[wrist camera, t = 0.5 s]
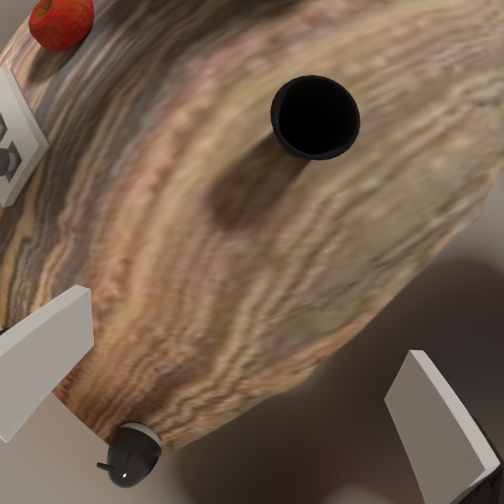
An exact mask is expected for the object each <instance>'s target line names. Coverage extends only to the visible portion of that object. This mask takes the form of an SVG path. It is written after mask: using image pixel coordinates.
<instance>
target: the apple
mask: <svg viewBox="0 0 504 504" xmlns="http://www.w3.org/2000/svg"><path fill="white" fill-rule="evenodd" d="M93 20H94V7H93V1H92V0H41V1H40V2H39V3H38V4H37V5H36V6H35V8H34V9H33V11H32V13H31V16H30V19H29V23H28V24H29V29H30V32H31V34H32V36H33V37H34V38H35V39H36V40H37V41H38V42H39V44H40V45H41V46H42V47H44V48H46V49H48V50H54V51H60V50H65V49H67V48H70V47H72V46H74V45H76V44H78V43H79V42H80V41H81V40H82V39H83V38H84V37H85V36H86V34H87V33H88V31H89V30H90V28H91V27H92V24H93Z"/></svg>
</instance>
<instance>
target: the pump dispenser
mask: <svg viewBox="0 0 504 504" xmlns="http://www.w3.org/2000/svg"><path fill="white" fill-rule="evenodd" d="M161 453H162V450H161V443H160V440H159V437H158V436H157V434H156V433H155V432H154V431H153V430H152V429H150V428H149V427H147V426H145V425H143V424H140V423H127V424H124V425H123V426H121V427H120V428H118V429H116V430H115V432H114V434H113V436H112V439H111V442H110V445H109V449H108V456H107V464H103V463H99V462H98V463H97V467H98V468H101V469H103V470H106V471H108V475H109V478H110V479H111V481H112V482H113V483H114V484H115V485H117V486H119V487H121V488H131V487H133V486H135V485H137V484H138V483H140V482H141V481H142V480H143V479H144V478H145V477H146V476H147V475H148V474H149V473H150V472H151V471H152V470H153V468H154V467H155V465H156V464H157V462H158V460H159V458H160V456H161Z"/></svg>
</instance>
